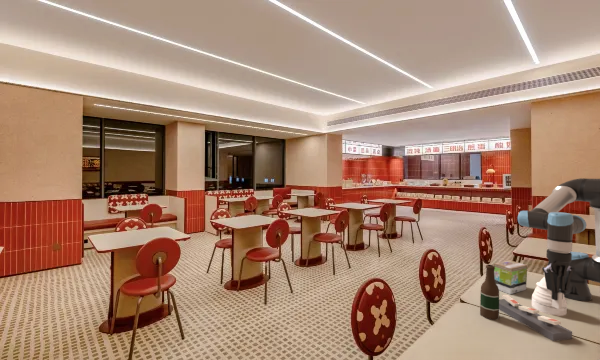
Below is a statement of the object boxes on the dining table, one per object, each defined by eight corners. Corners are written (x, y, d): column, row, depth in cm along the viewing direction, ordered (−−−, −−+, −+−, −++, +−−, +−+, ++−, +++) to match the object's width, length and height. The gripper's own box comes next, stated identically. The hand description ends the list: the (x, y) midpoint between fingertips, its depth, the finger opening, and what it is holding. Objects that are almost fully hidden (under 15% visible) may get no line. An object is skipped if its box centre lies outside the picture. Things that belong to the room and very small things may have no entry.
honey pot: (555, 317, 129) (556, 279, 128) (525, 305, 141) (526, 270, 141) (573, 312, 133) (574, 276, 133) (542, 300, 146) (543, 266, 145)
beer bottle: (502, 321, 127) (504, 269, 126) (483, 319, 128) (484, 267, 127) (494, 312, 134) (495, 263, 133) (476, 310, 136) (477, 262, 135)
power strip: (492, 305, 141) (493, 298, 140) (508, 304, 142) (508, 296, 142) (553, 341, 112) (553, 331, 112) (571, 338, 113) (572, 329, 113)
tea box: (511, 295, 152) (512, 268, 152) (492, 288, 161) (492, 262, 161) (527, 290, 159) (527, 264, 158) (507, 283, 168) (508, 259, 167)
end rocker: (538, 319, 121) (537, 316, 121) (543, 318, 121) (543, 315, 122) (554, 324, 114) (554, 321, 114) (560, 324, 115) (560, 320, 115)
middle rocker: (518, 309, 130) (518, 306, 130) (524, 308, 130) (523, 305, 131) (533, 313, 123) (532, 310, 123) (539, 313, 124) (538, 309, 124)
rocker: (501, 296, 139) (502, 294, 139) (506, 296, 139) (507, 294, 139) (514, 306, 132) (514, 304, 132) (519, 306, 133) (520, 303, 132)
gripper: (562, 247, 118) (560, 302, 119) (536, 248, 116) (534, 304, 117) (582, 252, 111) (580, 310, 112) (555, 254, 109) (552, 313, 110)
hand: (556, 307), depth 114 cm, fingers closed
